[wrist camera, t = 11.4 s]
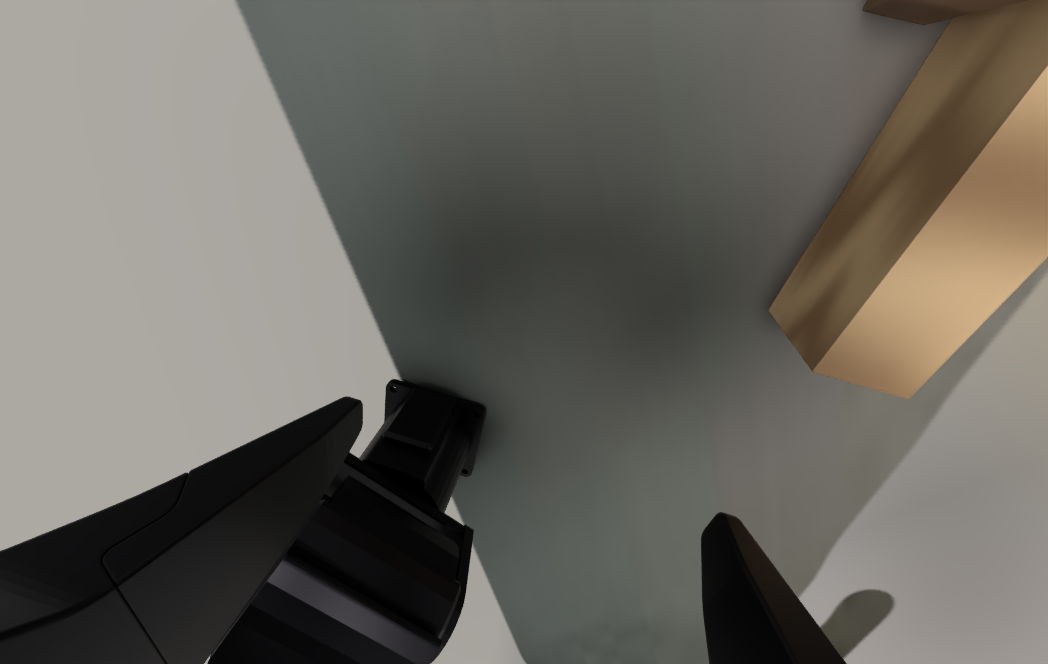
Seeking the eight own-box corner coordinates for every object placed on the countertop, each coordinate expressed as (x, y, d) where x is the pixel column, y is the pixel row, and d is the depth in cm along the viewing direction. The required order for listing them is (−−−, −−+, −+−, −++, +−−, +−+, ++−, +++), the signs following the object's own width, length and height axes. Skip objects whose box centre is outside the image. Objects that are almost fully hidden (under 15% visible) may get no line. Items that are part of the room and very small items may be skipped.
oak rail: (842, 331, 19) (908, 399, 15) (768, 310, 19) (812, 371, 15) (1156, -79, 11) (1477, -182, 7) (1030, -107, 12) (1271, -225, 7)
